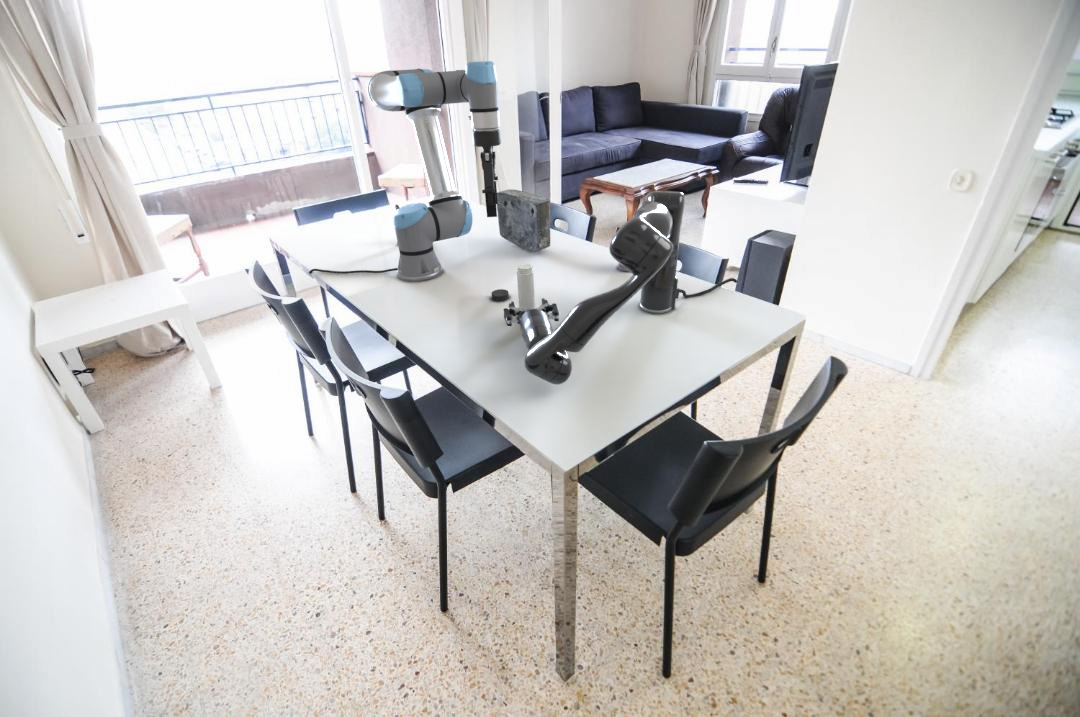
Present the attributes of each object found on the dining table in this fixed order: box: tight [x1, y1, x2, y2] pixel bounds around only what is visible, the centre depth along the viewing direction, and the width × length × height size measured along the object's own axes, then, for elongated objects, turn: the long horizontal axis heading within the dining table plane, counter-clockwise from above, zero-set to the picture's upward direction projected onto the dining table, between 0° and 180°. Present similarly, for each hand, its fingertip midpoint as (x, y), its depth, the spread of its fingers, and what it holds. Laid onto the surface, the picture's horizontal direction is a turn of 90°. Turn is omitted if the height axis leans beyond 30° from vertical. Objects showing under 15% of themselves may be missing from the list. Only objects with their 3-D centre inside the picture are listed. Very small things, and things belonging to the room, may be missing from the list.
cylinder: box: [516, 263, 536, 310], centre depth 138 cm, size 4×4×17 cm
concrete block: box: [496, 188, 551, 252], centre depth 191 cm, size 27×9×20 cm, turn 36°
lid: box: [491, 288, 510, 303], centre depth 156 cm, size 5×5×2 cm
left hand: (492, 210), depth 142 cm, fingers open, 13 cm apart
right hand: (527, 303), depth 137 cm, fingers open, 8 cm apart
